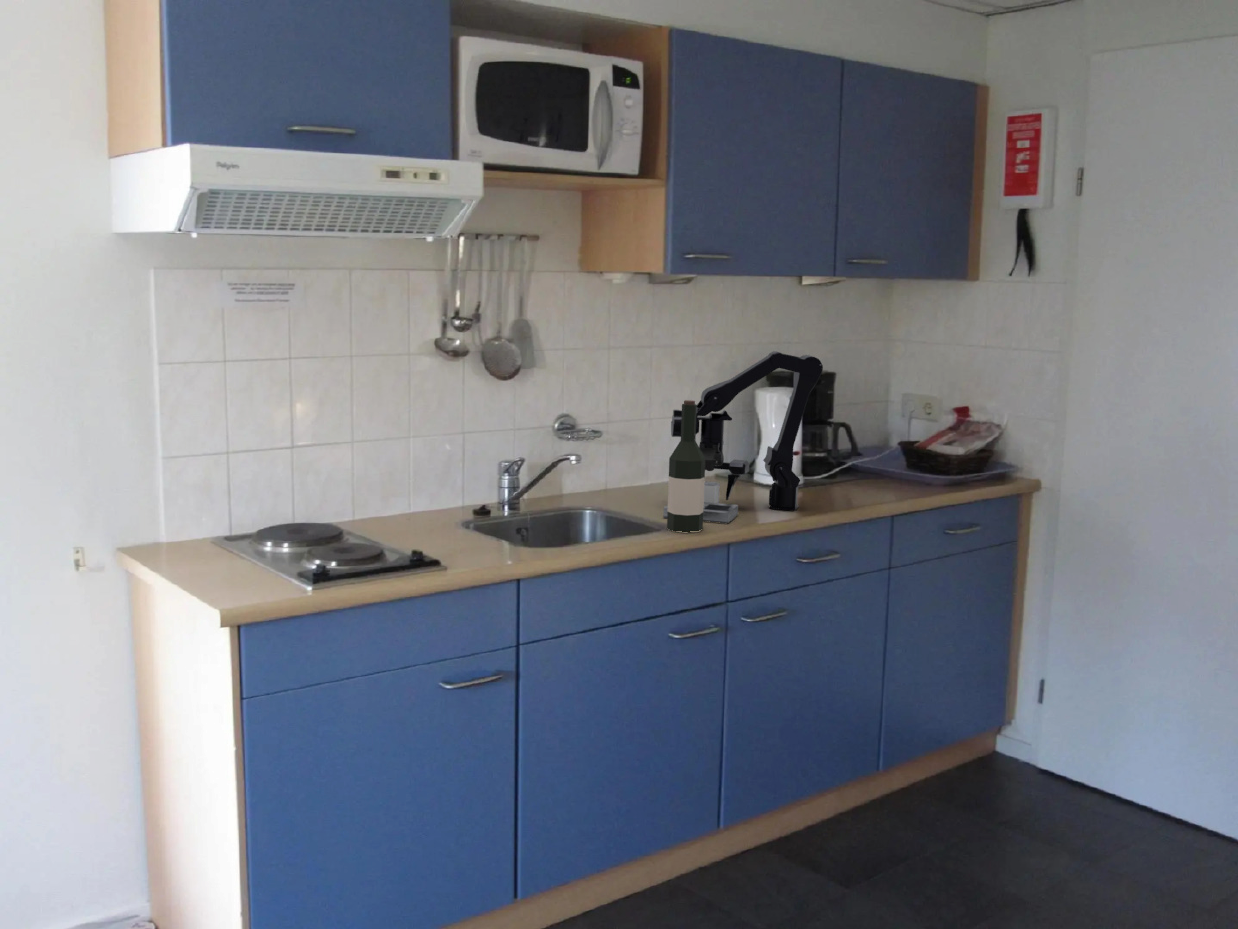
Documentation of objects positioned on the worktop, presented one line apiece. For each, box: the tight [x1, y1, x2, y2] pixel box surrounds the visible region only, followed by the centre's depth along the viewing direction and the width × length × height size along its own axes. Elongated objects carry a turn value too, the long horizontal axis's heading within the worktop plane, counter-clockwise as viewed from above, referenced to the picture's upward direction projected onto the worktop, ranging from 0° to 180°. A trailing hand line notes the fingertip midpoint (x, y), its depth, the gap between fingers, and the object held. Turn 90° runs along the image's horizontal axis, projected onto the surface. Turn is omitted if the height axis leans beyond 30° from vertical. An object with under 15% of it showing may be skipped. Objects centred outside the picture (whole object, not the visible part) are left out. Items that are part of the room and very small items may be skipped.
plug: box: [704, 481, 720, 503], centre depth 309 cm, size 4×5×6 cm
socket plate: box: [662, 502, 739, 524], centre depth 297 cm, size 16×11×3 cm
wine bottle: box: [666, 399, 706, 532], centre depth 280 cm, size 8×8×30 cm
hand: (709, 498), depth 309 cm, fingers open, 9 cm apart
